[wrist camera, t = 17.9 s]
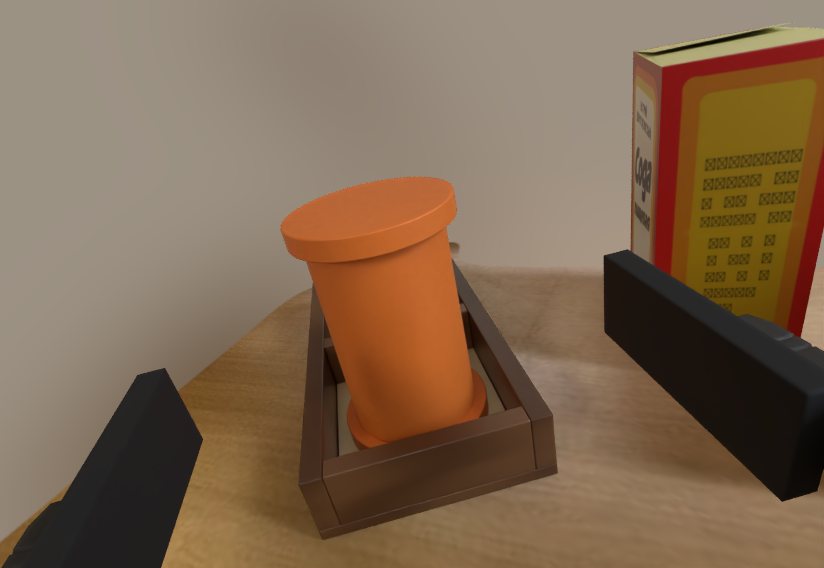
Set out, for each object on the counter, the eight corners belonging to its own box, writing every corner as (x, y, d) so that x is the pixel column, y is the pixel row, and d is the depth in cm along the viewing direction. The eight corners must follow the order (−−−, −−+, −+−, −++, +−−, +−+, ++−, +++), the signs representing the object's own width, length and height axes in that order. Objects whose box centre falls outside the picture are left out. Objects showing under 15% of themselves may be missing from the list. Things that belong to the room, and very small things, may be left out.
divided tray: (322, 540, 21) (297, 485, 19) (325, 315, 40) (312, 277, 38) (558, 473, 21) (553, 414, 20) (450, 283, 40) (443, 244, 39)
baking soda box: (792, 374, 24) (867, 20, 17) (650, 372, 26) (662, 57, 19) (735, 284, 32) (769, 18, 25) (630, 288, 34) (633, 44, 27)
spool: (354, 487, 22) (270, 257, 17) (348, 388, 29) (287, 201, 23) (509, 444, 22) (475, 206, 17) (467, 356, 29) (433, 166, 24)
